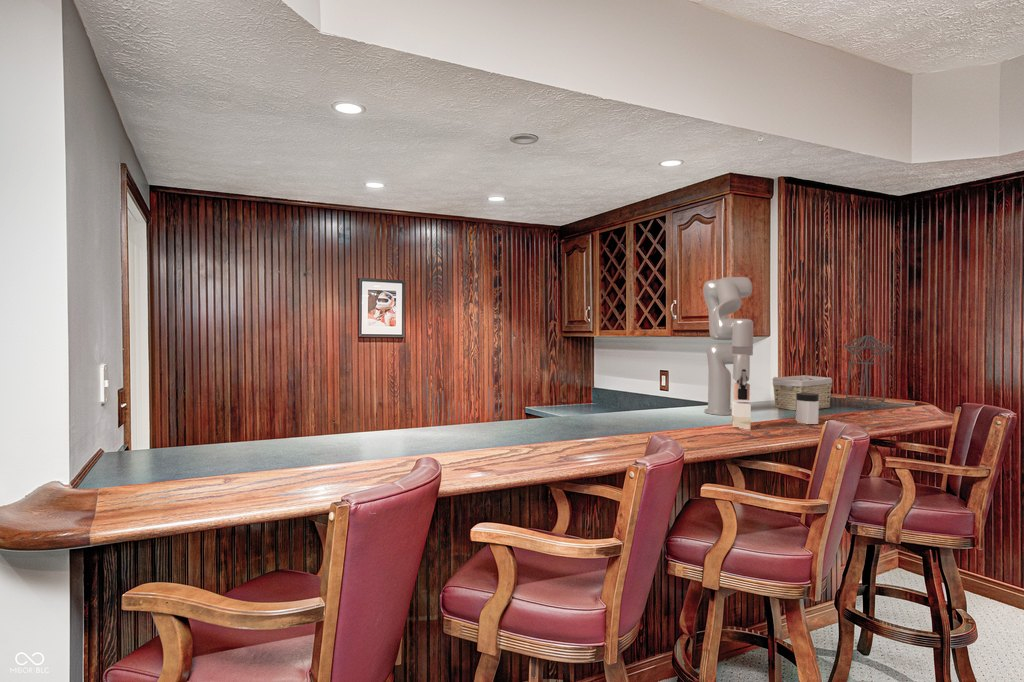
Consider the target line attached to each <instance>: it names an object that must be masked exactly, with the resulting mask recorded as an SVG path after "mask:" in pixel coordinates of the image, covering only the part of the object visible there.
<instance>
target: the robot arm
mask: <svg viewBox="0 0 1024 682" xmlns="http://www.w3.org/2000/svg"><path fill="white" fill-rule="evenodd" d="M702 287H703V289H702V290H703V291H702V292H703V299H704V302H705V304H706V307H707V311H708V330H709V331H708V332H709V337H710V338H711V339H712V340H714V341H731V342H713V343H711V344H709V345H708V347H707V348H706V357H707V366H708V374H707V376H708V382H707V383H708V389H707V390H708V391H707V398H708V399H707V408H705V409H704V410H703V412H704V413H706V414H710V415H716V416H729V415H730V416H732V409H731V403H732V402H731V400H732V399H731V396H732V395H731V391H732V390H731V389H732V379H733V380H734V381H736V382H735V383H739V389H738V399H744V400H743V401H747V400H746V399H747V383H748V382H749V381H750V372H751V371H750V370H751V369H750V368H751V366H750V364H751V361H750V356H753V353H754V351H753V350H754V345H753V344H754V321H753V320H752V319H750V318H749V319H747V318H730V317H729V315H731V314H733V313H736V312H738V310H740V309H741V307H742V305H743V301H742V299H745V298H748V297H750V296H751V294H752V292H753V283H752V281H751V280H750V278H748V277H747V276H726V277H721V278H720V279H710V280H706V281H705V283H703V286H702ZM726 365H732V366H733V367H732V374H731V372H730V370H729V369H728V367H727V366H726Z"/></svg>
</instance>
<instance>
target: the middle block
mask: <svg viewBox="0 0 1024 682" xmlns="http://www.w3.org/2000/svg"><path fill="white" fill-rule="evenodd" d="M751 406H752V404H751V403H750V402H748V401H732V402H731V410H732V415H733V416H734V417H751V415H752V412H751V411H752V407H751ZM732 415H731V416H732Z"/></svg>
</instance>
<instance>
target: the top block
mask: <svg viewBox="0 0 1024 682" xmlns="http://www.w3.org/2000/svg"><path fill="white" fill-rule="evenodd" d="M738 389H739V383H736V382H734V383H733V399H734V400H735V401H750V395H751V394H750V393H751V391H750V389H751V385H750V384H749V383H748V382H747V399H746V400H744V399H738Z"/></svg>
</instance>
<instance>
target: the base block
mask: <svg viewBox="0 0 1024 682" xmlns="http://www.w3.org/2000/svg"><path fill="white" fill-rule="evenodd" d="M751 423H752V422H751V417H734V416H733V415H731V424H732V425H733V427H739V428H744V429H750V430H751Z"/></svg>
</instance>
